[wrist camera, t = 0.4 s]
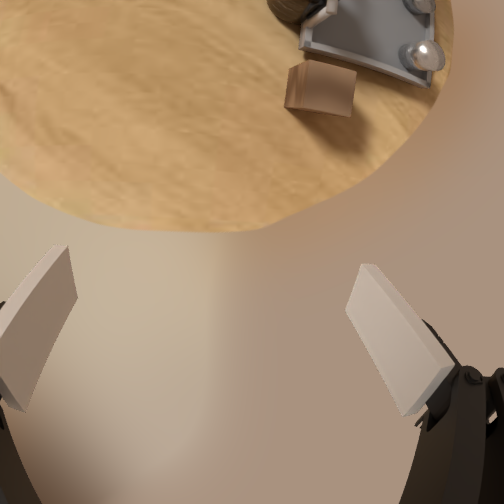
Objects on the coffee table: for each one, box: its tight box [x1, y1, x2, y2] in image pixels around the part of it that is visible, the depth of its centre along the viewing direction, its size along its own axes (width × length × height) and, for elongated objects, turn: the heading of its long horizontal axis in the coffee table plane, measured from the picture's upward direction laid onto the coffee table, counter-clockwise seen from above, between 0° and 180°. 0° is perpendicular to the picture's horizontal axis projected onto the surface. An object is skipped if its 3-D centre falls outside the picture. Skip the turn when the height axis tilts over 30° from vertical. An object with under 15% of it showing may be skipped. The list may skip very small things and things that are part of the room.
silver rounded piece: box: [398, 40, 445, 72], centre depth 25 cm, size 4×4×5 cm
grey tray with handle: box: [298, 0, 434, 88], centre depth 22 cm, size 16×18×10 cm
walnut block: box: [284, 60, 357, 117], centre depth 28 cm, size 5×5×8 cm
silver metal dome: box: [402, 0, 436, 16], centre depth 22 cm, size 4×4×3 cm
